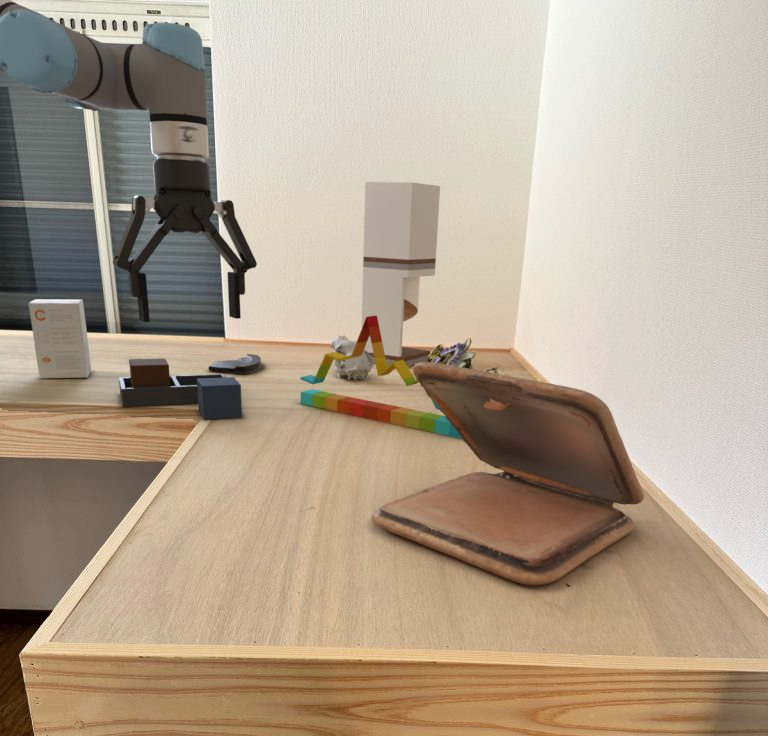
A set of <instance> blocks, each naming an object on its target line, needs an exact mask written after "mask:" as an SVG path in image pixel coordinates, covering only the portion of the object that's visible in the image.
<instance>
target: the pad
mask: <svg viewBox="0 0 768 736" xmlns="http://www.w3.org/2000/svg"><path fill="white" fill-rule="evenodd" d="M197 391H198V403H197V404H198V405H197V407H198V412H199V414H200V416H201V417H202V419H203V420H204V421H209V420H225V419H242V418H243V407H242V406H243V405H242V385H241V383H240V382H239V381H238V380H237V379H236V378H235V376H229V377H228V376H227V377H225V378H197Z"/></svg>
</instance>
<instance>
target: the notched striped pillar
mask: <svg viewBox="0 0 768 736" xmlns="http://www.w3.org/2000/svg"><path fill="white" fill-rule="evenodd" d="M440 194H441V186H440V185H434V184H426V183H418V182H402V181H401V182H399V181H397V182H393V181H390V182H387V181H385V182H383V181H365V184H364V217H363V219H364V220H363V221H364V222H363V223H364V225H363V255H362V256H363V260H362V297H361V299H362V301H361V303H362V304H361V328H362V327H363V324H364V322H365V319H366V317H369V316H376V315H377V318H378V323H379V328H380V333H381V338H382V343H383V348H384V353H385V358H386V363H387V366H389V365H390V364H391V363H392V362H396V361H400V360H404V362H405V363H406V365H407V367H410V366H413V365H414V366H415V365H416V364H417V363H419V362H428V358H429V357H428V355H430V354H431V350H428V349H420V348H414V347H407V346H403V332H404V322H406V321H408V320H410V319H412V318H414V317H415V316H416V315H418V312H419V298H420V279H421V278H422V277H431V276H432V277H434V276H436V262H437V261H436V260H437V259H436V258H437V245H438V244H437V243H438V232H439V231H438V229H439V228H438V227H439V211H440ZM364 350H366V351H368V353H369V354H370V355H371V356H372V357H373V360H374V364H375V358H374V353H373V348H372V343H371V338H370V336H369V338H368V341H367V343H366V346H365V349H364ZM368 363H370V360H369V361H368Z"/></svg>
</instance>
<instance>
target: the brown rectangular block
mask: <svg viewBox="0 0 768 736" xmlns="http://www.w3.org/2000/svg"><path fill="white" fill-rule="evenodd" d="M128 362H129V377H131V386H132V388H139V387H164V386H170V376H171V375H170V365H169V363H168V361H167V359H166V358H164V357H163V358H129V359H128Z"/></svg>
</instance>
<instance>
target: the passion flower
mask: <svg viewBox="0 0 768 736" xmlns="http://www.w3.org/2000/svg"><path fill="white" fill-rule="evenodd" d="M471 345H472V338H470V337H469V338H467V339H465V340H464V343H461V342H457V343H456V344H453V346H452V345H450V347H446V348H444V344H443V343H439V344H438V345H437V346H436V347H435V348H433V350H432V351H431V352H430V355H428V357H429V358H428V361H427V362H432V363H439V364H444V365H449V366H456V367H461V368H468V369H472V368H473V366H472V359H473V358H475V356H476V350H471V351H468V350H469V348H470V347H471ZM485 371H486V372H491V371H493V373H497V374H499V372H498V367H497V366H496V367H493V368H490V369H486V370H485Z"/></svg>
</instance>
